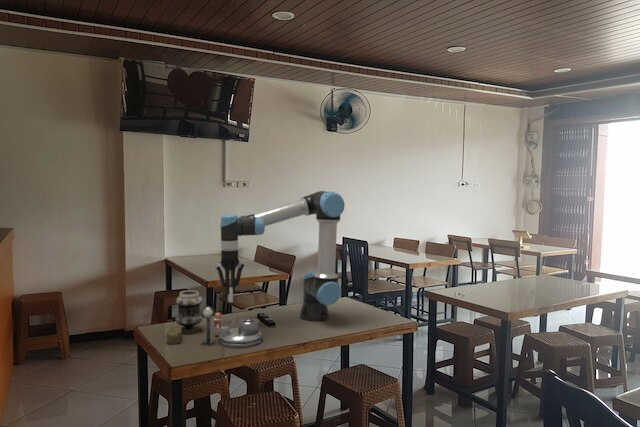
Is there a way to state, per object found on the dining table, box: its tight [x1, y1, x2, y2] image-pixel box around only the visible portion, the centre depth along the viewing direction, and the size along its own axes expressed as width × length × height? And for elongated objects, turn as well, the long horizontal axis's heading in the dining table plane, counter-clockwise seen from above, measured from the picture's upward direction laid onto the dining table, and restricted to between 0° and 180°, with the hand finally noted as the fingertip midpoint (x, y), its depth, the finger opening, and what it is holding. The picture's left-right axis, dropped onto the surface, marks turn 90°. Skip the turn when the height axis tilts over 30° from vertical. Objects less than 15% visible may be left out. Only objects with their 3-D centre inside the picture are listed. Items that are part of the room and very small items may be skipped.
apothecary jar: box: [174, 289, 203, 335], centre depth 223 cm, size 12×12×18 cm
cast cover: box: [237, 317, 260, 335], centre depth 213 cm, size 9×9×6 cm
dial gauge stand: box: [200, 305, 222, 346], centre depth 207 cm, size 8×5×16 cm, turn 89°
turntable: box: [212, 312, 262, 343], centre depth 212 cm, size 18×22×9 cm
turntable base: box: [217, 334, 263, 349], centre depth 212 cm, size 19×19×2 cm
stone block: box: [166, 325, 183, 345], centre depth 211 cm, size 6×12×5 cm, turn 13°
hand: (230, 301), depth 219 cm, fingers closed
